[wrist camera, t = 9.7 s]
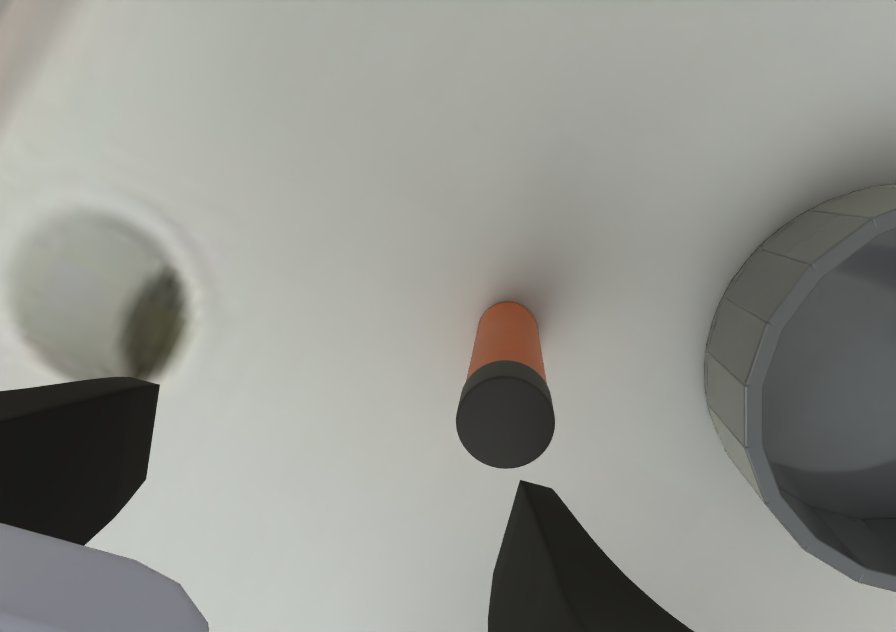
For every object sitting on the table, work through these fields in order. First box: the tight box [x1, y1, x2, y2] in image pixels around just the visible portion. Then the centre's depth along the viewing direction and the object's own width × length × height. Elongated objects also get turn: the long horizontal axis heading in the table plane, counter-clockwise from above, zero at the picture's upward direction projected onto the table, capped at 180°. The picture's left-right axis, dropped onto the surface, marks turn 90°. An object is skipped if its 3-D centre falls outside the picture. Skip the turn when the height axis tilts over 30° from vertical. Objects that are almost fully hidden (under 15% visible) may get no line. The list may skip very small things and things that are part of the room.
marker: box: [456, 302, 555, 469], centre depth 18 cm, size 2×2×8 cm
